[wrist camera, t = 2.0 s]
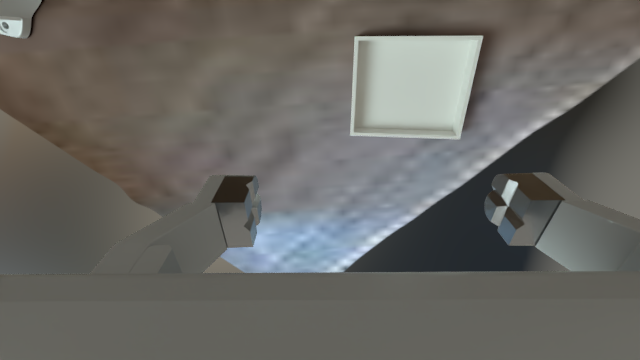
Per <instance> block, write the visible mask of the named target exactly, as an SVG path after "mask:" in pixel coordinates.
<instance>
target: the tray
mask: <svg viewBox="0 0 640 360" xmlns="http://www.w3.org/2000/svg"><path fill="white" fill-rule="evenodd" d="M482 40H483V36H355V43H354V65H353V87H352V109H351V131H350V136H378V137H407V138H436V139H460V136H461V132H462V127H463V123H464V119H465V114H466V110H467V105H468V101H469V97H470V92H471V88H472V84H473V79H474V75H475V70H476V66H477V62H478V57H479V53H480V48H481V44H482Z"/></svg>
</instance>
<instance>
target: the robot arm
mask: <svg viewBox="0 0 640 360" xmlns="http://www.w3.org/2000/svg"><path fill="white" fill-rule="evenodd" d="M41 1H42V0H0V34H3V35H7V36H12V37H17V38H27V37H28V36H29V34H30V30H31V18H32V16H33V14H34V12H35V11H36V10H37V8H38V7H39V5H40V3H41ZM492 187H493V189H494V190H493V191H492V192H491V193H490V194H488V195H487V198H486V201H485V213H486V215H487V217H488V219H489V220H490V221H491V222H492V223H494V224H496V225H497V226H499V228H498V232H499V233H500V234H501V236H502V237H503V238H504V240H505V241H506V242H507V244H508V245H520V246H521V245H522V246H536V248H538V249H539V250H541V251H542V252H544V253H545V254H547V255H548V256H550V257H551V258H553V259H554V260H556V261H557V262H559V263H560V264H562V265H563V266H564V267H566V268H567V269H569V270H570V271H542V272H541V271H532V272H531V271H529V272H528V271H527V272H347V273H346V272H339V273H203V272H204V271H205V270H206V269H207V268H208V267H209V266H210V265H211V264H212V263H213V262H214V261H215V260H216V259H217V258H218V257H219V256H220V255H221V254H223V253H224V252H225V251H226V250H227V248H233V247H253V245H254V241H255V238H256V234H257V229H256V226H257V225H258V224H259V223H260V219H261V211H262V206H261V197H260V196H259V195H258V194H257V191H258V188H259V185H258V179H257V177H256V176H245V175H227V176H226V175H212V176H210V177H209V178H208V180H207V181H206V183H205V185H204V186H203V188H202V189H201V191H200V193H199V194H198V196H197V197H196V199H195V201H194V202H193V203H188V204H186V205H184V206H182V207H181V208H179V209H177V210H175V211H173V212H172V213H170V214H168V215H166V216H164V217H163V218H161V219H159V220H157V221H155V222H153V223H152V224H150V225H148V226H146V227H144V228H143V229H141V230H139V231H137V232H135V233H134V234H132V235H130V236H128V237H126V238H125V239H123V240H121V241H119V242H117V243H115V244H114V245H113V247H112V248H111V249H110V250H109V251H108V253H107V254H106V255H105V256H104V257H103V259H102V260H101V261H100V262H99V263H98V265H97V266H96V267H95V268H94V269H93V270H92V272H91V273H90V274H0V360H640V219H637V218H634V217H632V216H629V215H627V214H624V213H621V212H618V211H616V210H613V209H611V208H608V207H605V206H603V205H600V204H597V203H595V202H592V201H589V200H583V199H582V198H580V197H579V196H578V195H576V194H575V193H574V192H572V191H571V190H570V189H568V188H567V187H566V186H565V185H563V184H562V183H561V182H559V181H558V180H556V179H555V178H554V177H553V176H551V175H550V174H547V173H523V174H497V176H496V177H495V178H494V180H493V182H492Z"/></svg>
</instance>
